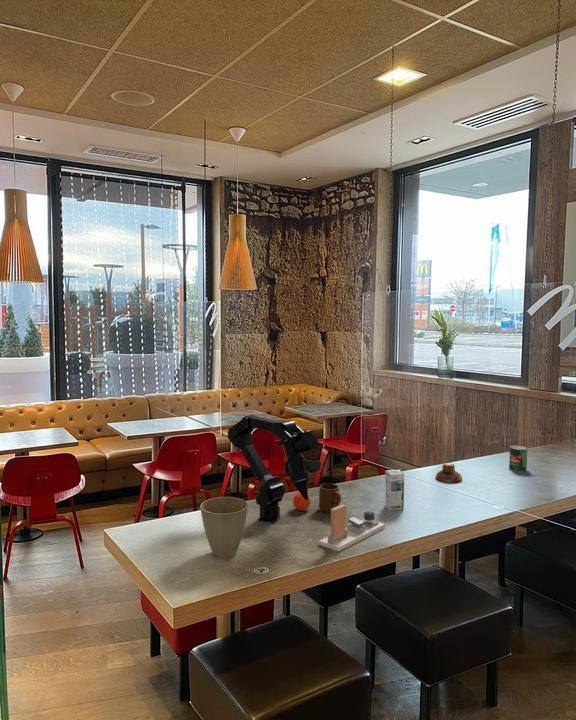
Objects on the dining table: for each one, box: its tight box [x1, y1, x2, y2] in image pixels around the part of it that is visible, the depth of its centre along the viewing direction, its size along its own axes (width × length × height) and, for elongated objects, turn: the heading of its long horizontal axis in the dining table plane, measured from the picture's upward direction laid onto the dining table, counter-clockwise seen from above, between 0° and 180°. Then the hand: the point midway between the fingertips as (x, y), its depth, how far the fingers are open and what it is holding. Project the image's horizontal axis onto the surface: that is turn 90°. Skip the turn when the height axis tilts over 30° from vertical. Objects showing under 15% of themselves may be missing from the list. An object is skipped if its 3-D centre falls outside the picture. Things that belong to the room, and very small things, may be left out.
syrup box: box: [384, 469, 405, 511], centre depth 222 cm, size 6×6×14 cm
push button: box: [363, 510, 375, 521], centre depth 201 cm, size 4×4×2 cm
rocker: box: [347, 516, 364, 527], centre depth 195 cm, size 4×3×1 cm
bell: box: [435, 463, 463, 484], centre depth 259 cm, size 12×12×7 cm
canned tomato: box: [508, 444, 528, 473], centre depth 274 cm, size 8×8×11 cm
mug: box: [318, 483, 342, 514], centre depth 217 cm, size 12×8×9 cm, turn 25°
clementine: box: [292, 491, 312, 511], centre depth 219 cm, size 8×7×7 cm
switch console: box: [318, 518, 386, 553], centre depth 194 cm, size 8×27×4 cm, turn 138°
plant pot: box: [199, 496, 249, 559], centre depth 180 cm, size 15×15×16 cm
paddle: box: [330, 504, 347, 541], centre depth 188 cm, size 2×6×11 cm, turn 138°
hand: (306, 499), depth 197 cm, fingers closed
